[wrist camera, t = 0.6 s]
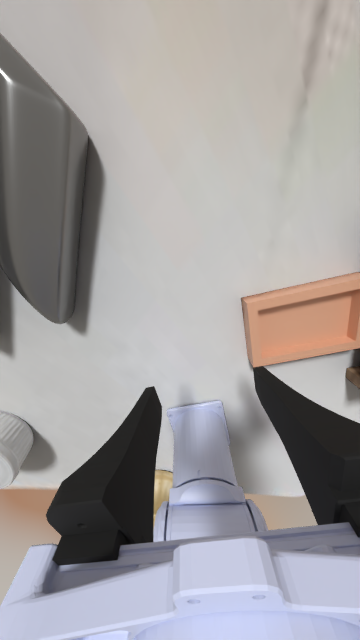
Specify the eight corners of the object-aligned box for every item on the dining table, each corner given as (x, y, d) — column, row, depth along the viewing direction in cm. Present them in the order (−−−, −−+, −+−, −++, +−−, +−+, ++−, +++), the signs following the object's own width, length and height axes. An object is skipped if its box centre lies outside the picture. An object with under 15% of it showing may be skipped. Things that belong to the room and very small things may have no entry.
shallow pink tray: (349, 338, 22) (364, 347, 20) (247, 357, 23) (253, 367, 21) (357, 272, 19) (376, 275, 17) (241, 297, 20) (247, 303, 18)
